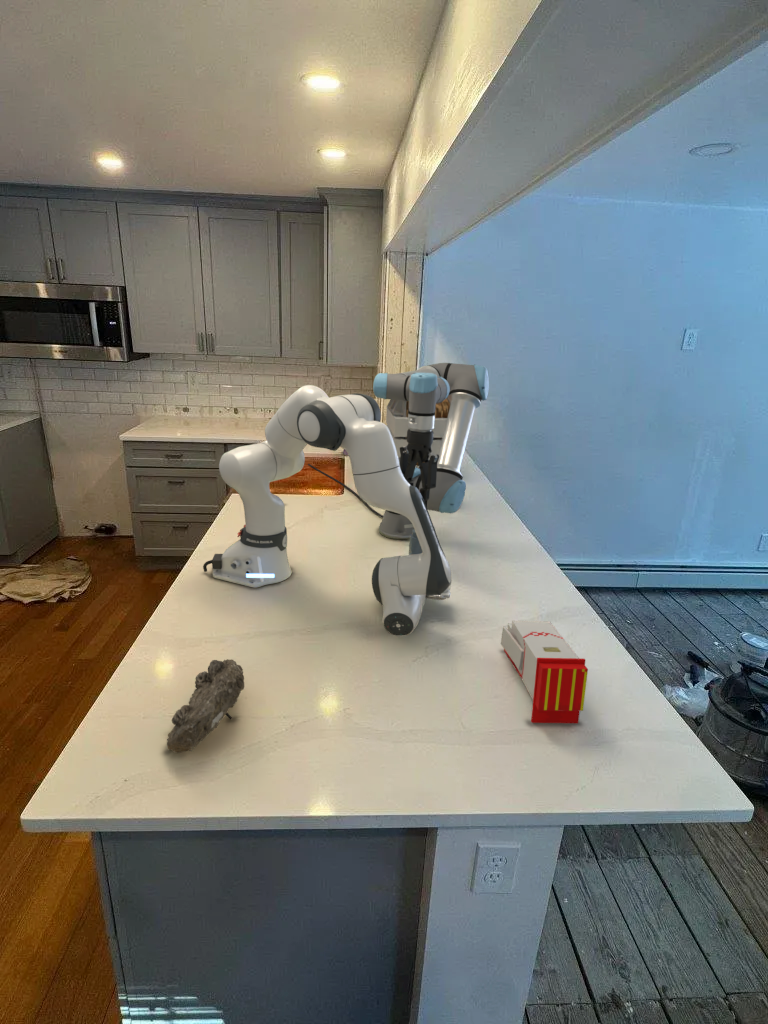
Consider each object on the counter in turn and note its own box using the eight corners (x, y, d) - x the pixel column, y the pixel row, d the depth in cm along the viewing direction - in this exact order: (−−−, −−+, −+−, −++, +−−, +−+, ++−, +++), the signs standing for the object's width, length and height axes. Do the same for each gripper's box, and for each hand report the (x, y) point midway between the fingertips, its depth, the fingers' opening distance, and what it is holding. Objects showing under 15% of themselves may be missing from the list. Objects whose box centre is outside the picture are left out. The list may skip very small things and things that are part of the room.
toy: (547, 606, 135) (596, 665, 106) (541, 658, 138) (589, 729, 108) (496, 604, 134) (532, 664, 105) (492, 657, 137) (526, 729, 108)
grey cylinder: (404, 589, 160) (408, 527, 154) (420, 588, 162) (424, 526, 155) (409, 597, 156) (413, 534, 150) (425, 596, 157) (430, 533, 151)
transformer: (382, 463, 289) (386, 382, 275) (445, 464, 293) (451, 384, 279) (390, 482, 257) (394, 392, 243) (460, 483, 261) (468, 394, 247)
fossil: (192, 660, 117) (244, 628, 112) (224, 691, 120) (276, 661, 115) (142, 746, 98) (202, 712, 93) (182, 779, 101) (242, 748, 96)
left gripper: (450, 588, 142) (454, 565, 155) (370, 577, 145) (381, 556, 158) (448, 610, 144) (453, 586, 157) (370, 599, 147) (380, 576, 160)
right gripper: (388, 425, 164) (384, 501, 172) (435, 436, 151) (429, 518, 159) (406, 422, 169) (402, 496, 176) (454, 433, 156) (447, 513, 164)
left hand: (416, 571), depth 157 cm, fingers closed on grey cylinder, 5 cm apart
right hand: (415, 506), depth 168 cm, fingers closed on lid, 5 cm apart
